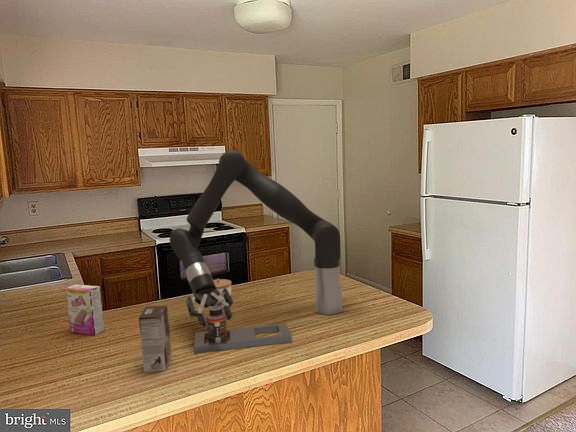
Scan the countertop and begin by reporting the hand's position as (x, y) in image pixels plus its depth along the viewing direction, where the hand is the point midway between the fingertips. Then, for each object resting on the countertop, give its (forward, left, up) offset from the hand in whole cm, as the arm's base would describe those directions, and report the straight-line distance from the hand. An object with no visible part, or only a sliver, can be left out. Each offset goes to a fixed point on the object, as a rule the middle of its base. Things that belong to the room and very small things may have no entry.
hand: (217, 322), depth 136 cm
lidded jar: (-1, -43, -8) cm, 44 cm away
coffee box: (+17, +9, -8) cm, 21 cm away
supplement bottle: (0, -1, -7) cm, 7 cm away
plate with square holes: (-8, -1, -7) cm, 10 cm away
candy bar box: (+45, -23, -8) cm, 52 cm away
